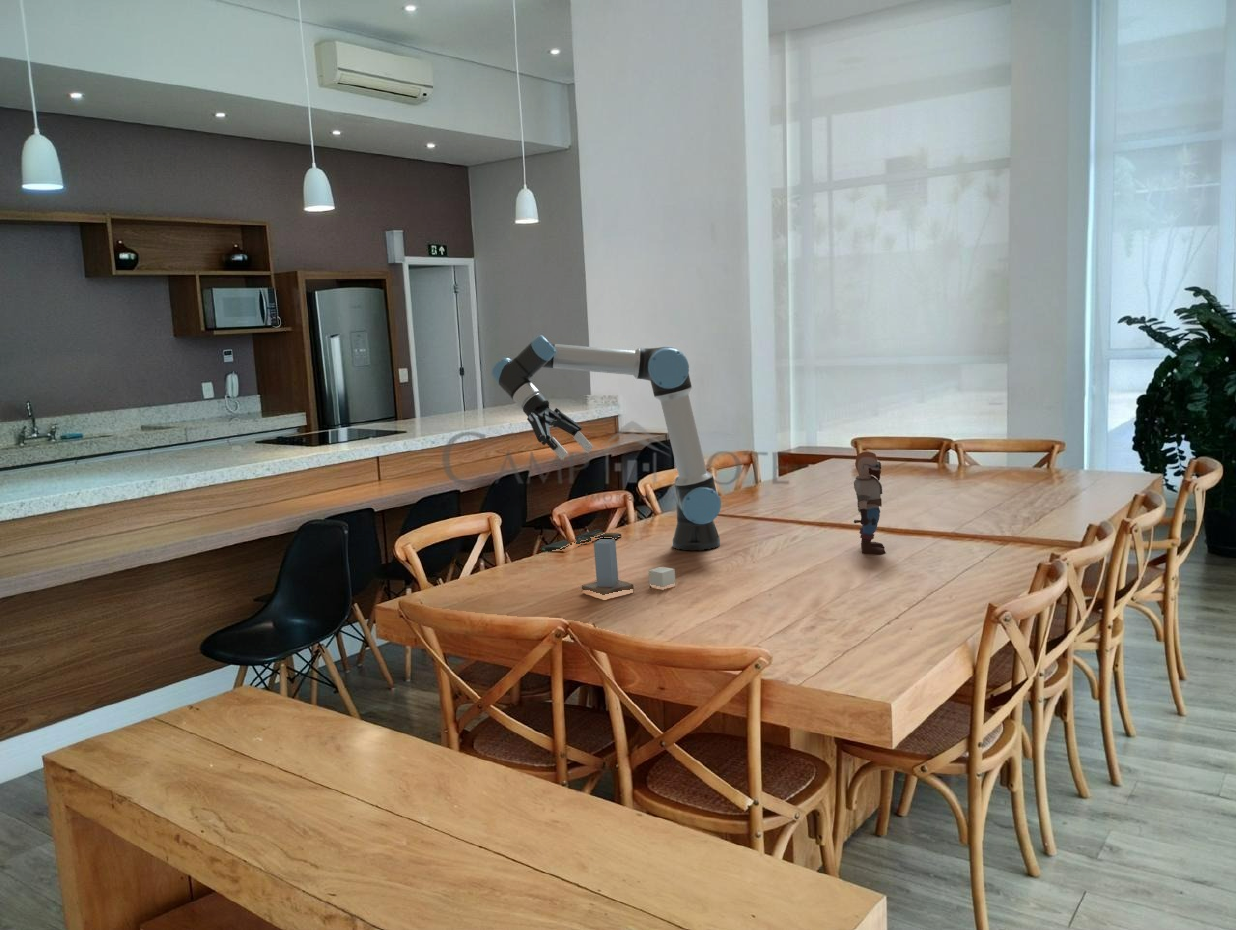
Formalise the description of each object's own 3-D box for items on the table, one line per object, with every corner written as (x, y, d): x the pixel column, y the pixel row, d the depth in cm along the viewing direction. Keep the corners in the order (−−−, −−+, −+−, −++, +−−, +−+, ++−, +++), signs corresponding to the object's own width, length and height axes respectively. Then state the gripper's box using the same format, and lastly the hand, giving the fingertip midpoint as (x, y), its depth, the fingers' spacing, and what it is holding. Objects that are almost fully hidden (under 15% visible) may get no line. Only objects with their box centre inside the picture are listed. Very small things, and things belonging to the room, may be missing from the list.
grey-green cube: (661, 584, 272) (661, 566, 271) (675, 586, 269) (674, 568, 268) (649, 588, 269) (648, 570, 268) (663, 591, 265) (662, 573, 264)
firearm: (574, 550, 312) (539, 546, 321) (575, 557, 313) (539, 552, 322) (627, 531, 335) (592, 528, 344) (627, 538, 335) (592, 534, 344)
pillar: (603, 581, 268) (599, 538, 266) (618, 582, 267) (615, 539, 265) (597, 586, 264) (593, 543, 262) (612, 587, 263) (609, 543, 261)
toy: (887, 559, 284) (885, 456, 280) (854, 559, 286) (852, 457, 282) (882, 541, 306) (880, 446, 301) (852, 542, 307) (849, 447, 303)
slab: (612, 588, 273) (611, 577, 272) (634, 595, 265) (633, 584, 264) (582, 595, 267) (581, 585, 266) (603, 602, 259) (603, 591, 258)
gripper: (549, 406, 302) (593, 455, 296) (499, 415, 280) (546, 468, 275) (562, 388, 298) (607, 438, 292) (512, 396, 277) (560, 450, 271)
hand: (577, 453), depth 284 cm, fingers open, 13 cm apart
